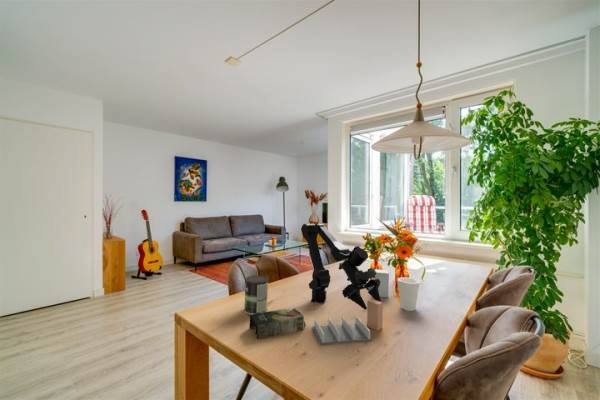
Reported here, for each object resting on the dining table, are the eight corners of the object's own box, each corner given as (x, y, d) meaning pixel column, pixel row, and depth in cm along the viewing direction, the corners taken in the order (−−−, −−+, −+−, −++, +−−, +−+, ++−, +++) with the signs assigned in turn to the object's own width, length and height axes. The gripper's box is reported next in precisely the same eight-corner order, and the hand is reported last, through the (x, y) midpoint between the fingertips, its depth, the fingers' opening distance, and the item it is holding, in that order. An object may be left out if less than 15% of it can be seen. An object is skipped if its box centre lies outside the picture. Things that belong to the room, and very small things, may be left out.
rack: (312, 327, 101) (312, 318, 101) (358, 324, 104) (358, 315, 104) (320, 344, 89) (320, 334, 89) (372, 340, 92) (372, 330, 92)
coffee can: (244, 316, 110) (245, 282, 110) (244, 306, 120) (245, 275, 120) (268, 314, 112) (269, 281, 112) (266, 305, 122) (267, 275, 122)
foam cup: (418, 306, 125) (419, 279, 125) (418, 313, 116) (419, 284, 116) (397, 302, 128) (398, 276, 129) (396, 309, 120) (396, 281, 120)
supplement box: (388, 297, 136) (389, 273, 136) (374, 296, 137) (374, 272, 137) (386, 293, 143) (387, 270, 143) (373, 291, 144) (373, 269, 145)
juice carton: (296, 319, 108) (296, 304, 108) (307, 330, 99) (307, 314, 99) (248, 329, 99) (249, 313, 99) (256, 342, 91) (256, 324, 91)
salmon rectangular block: (367, 325, 104) (367, 300, 104) (371, 323, 105) (372, 298, 106) (377, 330, 100) (378, 304, 100) (382, 328, 101) (382, 302, 102)
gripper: (348, 264, 102) (370, 301, 93) (377, 259, 113) (400, 291, 104) (333, 279, 108) (353, 315, 99) (362, 273, 119) (383, 305, 110)
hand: (373, 306), depth 103 cm, fingers open, 9 cm apart
